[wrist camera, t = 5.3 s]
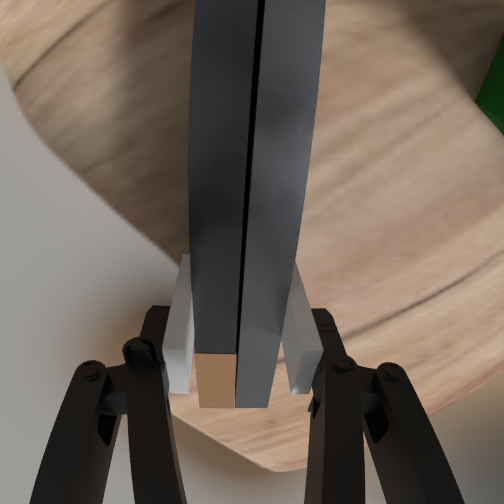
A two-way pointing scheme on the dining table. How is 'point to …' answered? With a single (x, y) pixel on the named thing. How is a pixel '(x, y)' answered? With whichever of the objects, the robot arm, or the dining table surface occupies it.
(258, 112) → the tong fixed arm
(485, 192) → the dining table surface
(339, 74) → the dining table surface
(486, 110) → the milk carton
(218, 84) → the arm
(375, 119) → the dining table surface
